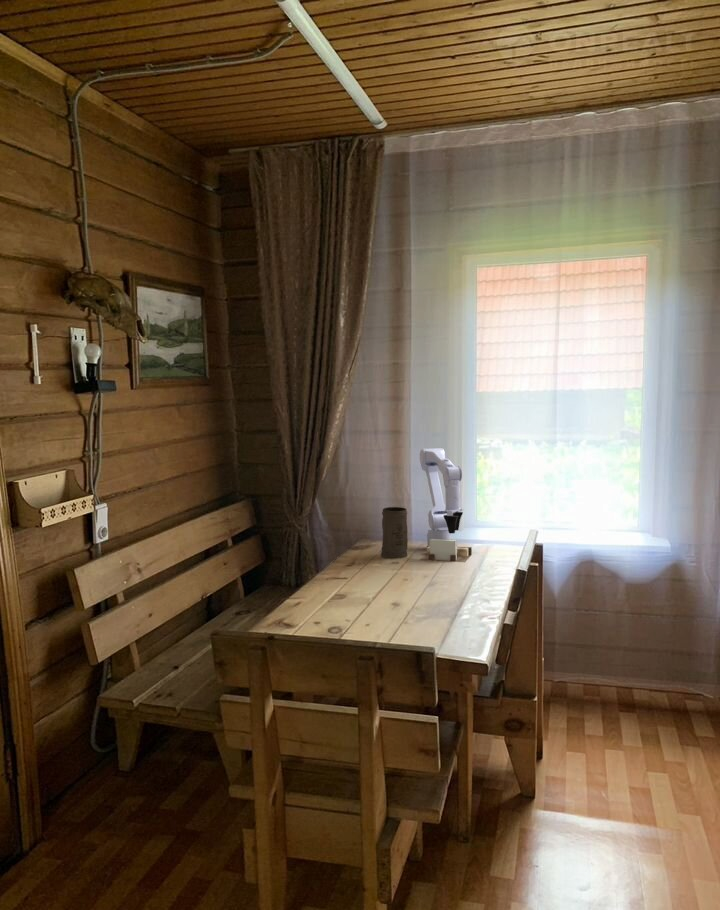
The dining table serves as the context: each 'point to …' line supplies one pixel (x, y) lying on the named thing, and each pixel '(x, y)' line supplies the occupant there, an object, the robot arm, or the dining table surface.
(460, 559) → the rack
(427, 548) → the offcut left
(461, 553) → the offcut right
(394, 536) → the beer stein
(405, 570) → the dining table surface
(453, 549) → the panel
